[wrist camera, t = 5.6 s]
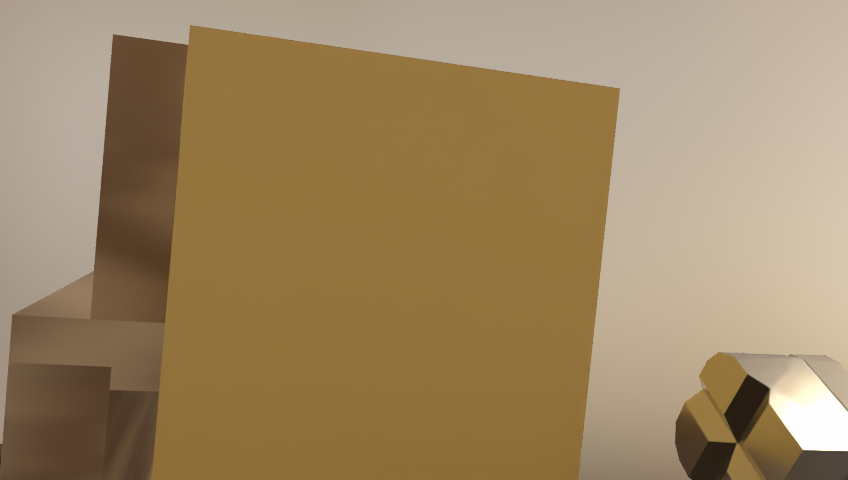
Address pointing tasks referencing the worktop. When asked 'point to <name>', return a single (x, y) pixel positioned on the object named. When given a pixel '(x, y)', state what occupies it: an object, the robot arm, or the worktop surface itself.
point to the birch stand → (106, 297)
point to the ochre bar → (379, 267)
